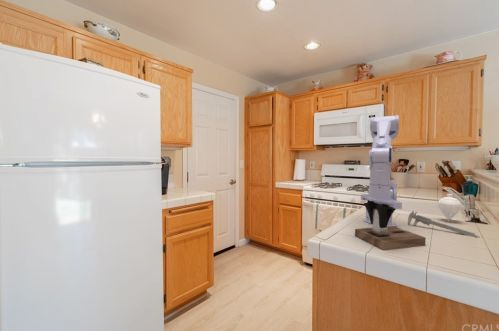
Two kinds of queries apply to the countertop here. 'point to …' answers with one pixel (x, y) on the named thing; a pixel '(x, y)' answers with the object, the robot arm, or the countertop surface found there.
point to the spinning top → (449, 206)
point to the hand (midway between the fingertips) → (378, 225)
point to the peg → (377, 224)
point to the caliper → (437, 224)
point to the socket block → (391, 238)
